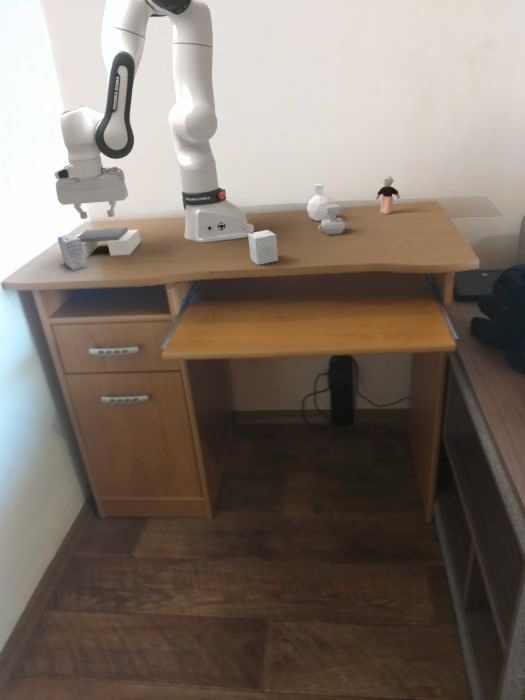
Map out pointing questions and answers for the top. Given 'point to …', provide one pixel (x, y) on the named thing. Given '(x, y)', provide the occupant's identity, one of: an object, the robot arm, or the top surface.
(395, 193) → the grandmother figurine
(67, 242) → the medicine box
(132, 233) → the cutout shelf
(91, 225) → the top surface
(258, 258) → the skincare box
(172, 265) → the top surface
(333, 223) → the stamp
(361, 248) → the top surface
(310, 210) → the perfume bottle
